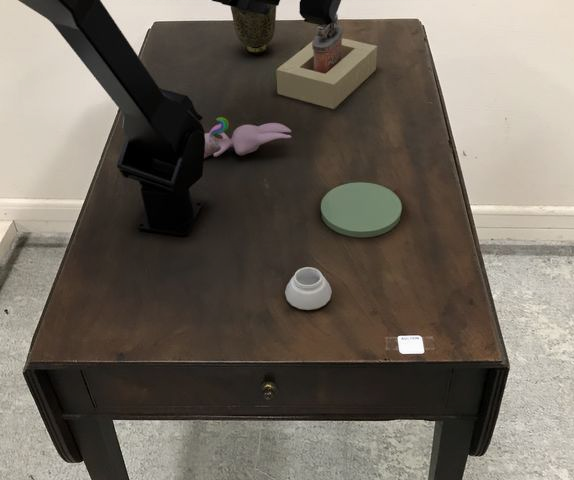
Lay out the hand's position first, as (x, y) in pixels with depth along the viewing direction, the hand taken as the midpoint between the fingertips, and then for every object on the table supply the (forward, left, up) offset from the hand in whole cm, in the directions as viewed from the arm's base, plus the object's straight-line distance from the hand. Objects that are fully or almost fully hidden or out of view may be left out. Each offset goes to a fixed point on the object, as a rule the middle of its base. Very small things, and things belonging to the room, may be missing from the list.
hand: (296, 18), depth 97 cm
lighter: (+7, -3, -13) cm, 15 cm away
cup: (+15, +11, -13) cm, 23 cm away
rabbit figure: (-15, +5, -13) cm, 21 cm away
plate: (-25, -14, -13) cm, 31 cm away
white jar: (-41, -11, -13) cm, 44 cm away
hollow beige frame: (+7, -3, -13) cm, 15 cm away
